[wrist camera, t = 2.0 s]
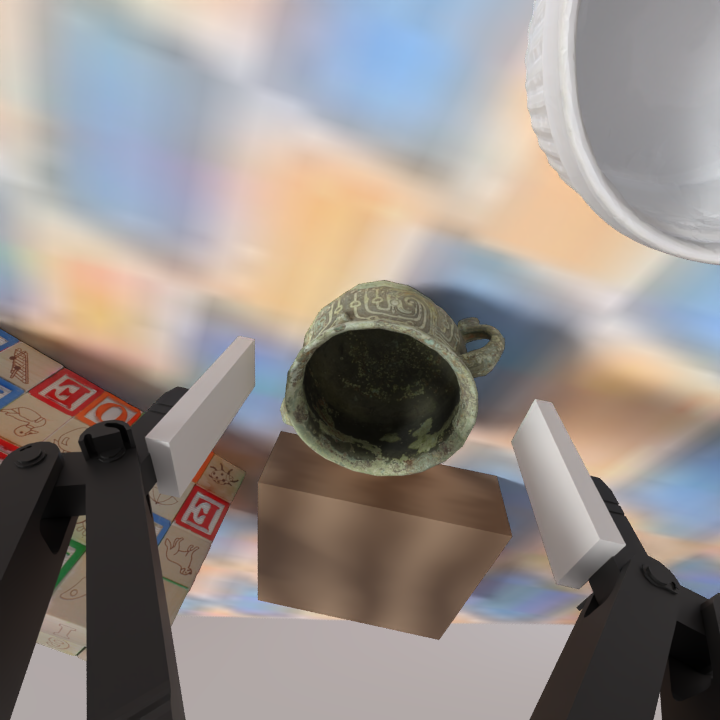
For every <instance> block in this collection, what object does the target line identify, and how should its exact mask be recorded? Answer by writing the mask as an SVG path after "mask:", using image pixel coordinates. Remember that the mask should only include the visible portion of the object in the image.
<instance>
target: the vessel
mask: <svg viewBox="0 0 720 720" xmlns="http://www.w3.org/2000/svg"><path fill="white" fill-rule="evenodd" d="M478 339H489V340H490V341H489V342H488V343H487V344H486V345H485V346H484V347H482V348H480V349H477V350H473V351H470V352H468V353H467V350H466V346H465V345H466V343H468V342H471V341H474V340H478ZM504 348H505V339H504V337H503V336H502V335H501V333H500V332H499V330H497V329H496V328H494V327H493V326H490V325H484V324H479V320H478V319H477V318H474V317H471V318H466V319H462V320H460V321H459V322H458V327H457V325H456V324H455V323H454V321H453V320H452V319H451V317H450V316H449V315H448V314H447V313H446V312H445V311H444V310H443V309H442V308H441V307H439V306H437V305H436V304H435V303H434V302H433V301H432V300H431V299H430V298H428V297H427V296H425V295H423V294H422V293H420V292H418V291H417V290H415V289H413V288H412V287H410V286H407V285H403V284H399V283H394V282H390V281H386V280H382V281H376V282H369V283H363V284H358V285H357V286H355V287H354V288H352V289H351V290H349V291H347V292H345V293H344V294H343V295H341V296H340V297H338V298H337V299H335V300H334V301H332V302H331V303H330V304H328V305H327V306H325V307H324V308H322V309H321V311H320V312H319V313H318V315H317V316H316V318H315V320H314V321H313V323H312V325H311V326H310V328H309V330H308V331H307V333H306V335H305V338H304V344H303V348H302V349H301V350H300V352H299V354H298V355H297V357H296V359H295V361H294V362H293V364H292V366H291V368H290V369H289V371H288V375H287V384H286V393H285V398H284V400H283V402H282V405H281V409H280V411H281V415H282V419H283V422H284V423H286V424H288V425H291V426H293V427H294V429H295V431H296V432H297V434H298V435H299V436H300V438H301V439H302V440H303V441H304V442H305V443H306V444H307V445H308V446H309V447H310V448H311V449H312V450H314V451H315V452H316V453H318V454H319V455H321V456H322V457H324V458H325V459H327V460H329V461H332V462H334V463H336V464H338V465H341V466H343V467H345V468H347V469H350V470H352V471H356V472H361V473H365V474H370V475H374V476H403V475H411V474H416V473H420V472H423V471H426V470H428V469H430V468H432V467H434V466H436V465H438V464H441V463H443V462H445V461H446V460H447V459H448V458H449V457H451V456H452V455H453V454H454V453H455V452H456V451H458V450H459V449H460V448H461V447H462V446H463V445H464V443H465V441H466V439H467V437H468V435H469V434H470V432H471V430H472V428H473V426H474V425H475V422H476V418H477V413H478V392H477V388H476V384H475V381H474V379H473V378H476V377H481V376H486V375H487V374H488V373H489V372H491V371H492V370H493V368H494V367H495V365H496V364H497V362H498V361H499V359H500V357H501V355H502V353H503V351H504Z"/></svg>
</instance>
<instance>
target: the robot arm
mask: <svg viewBox="0 0 720 720" xmlns="http://www.w3.org/2000/svg"><path fill="white" fill-rule="evenodd" d="M254 387H255V339H251V338H246V337H242V336H238V337H237V338H236V339H235V341H234V342H233V343H232V344H231V345H230V346H229V347H228V348H227V349H226V350H225V351H224V352H223V353H222V355H221V356H220V357H219V358H218V359H217V360H216V361H215V362H214V363H213V364H212V365H211V366H210V368H209V369H208V370H207V371H206V372H205V373H204V374H203V375H202V376H201V377H200V378H199V379H198V380H197V382H196V383H195V384H194V385H193V386H192V387H191V388H190V389H186V388H182V387H176V388H174V389H172V390H170V391H168V392H166V393H165V394H163V395H162V396H161V397H160V398H159V399H158V400H157V401H156V403H155V404H153V405H152V406H151V407H150V408H149V409H148V412H147V411H146V412H145V413H144V414H143V415H142V416H141V417H140V418H139V419H138V420H137V421H136V422H135V423H134V424H133V425H132V426H131V427H130V426H129V424H128V423H126V422H124V421H120V420H107V421H102V422H99V423H96V424H94V425H92V426H91V427H89V428H87V429H86V430H85V431H84V432H83V433H82V434H81V435H80V437H79V440H78V443H79V446H80V448H81V451H82V452H64V453H61V451H60V449H59V448H58V446H57V445H56V444H54V443H52V442H42V441H40V442H35V443H30V444H27V445H24V446H22V447H20V448H17V449H16V450H14V451H13V452H11V453H10V454H8V456H7V457H6V458H5V459H4V460H3V461H2V463H1V464H0V720H10V718H11V715H12V712H13V709H14V706H15V703H16V700H17V697H18V694H19V691H20V688H21V685H22V682H23V679H24V676H25V674H26V670H27V668H28V664H29V662H30V659H31V656H32V653H33V650H34V647H35V644H36V641H37V638H38V635H39V632H40V629H41V626H42V623H43V621H44V618H45V615H46V612H47V609H48V606H49V603H50V600H51V597H52V594H53V591H54V588H55V585H56V582H57V579H58V576H59V573H60V570H61V567H62V564H63V561H64V558H65V556H66V553H67V550H68V547H69V544H70V541H71V538H72V535H73V532H74V529H75V526H76V523H77V520H78V517H79V516H83V515H86V656H87V720H186V719H185V713H184V707H183V701H182V695H181V689H180V683H179V676H178V670H177V663H176V657H175V651H174V645H173V639H172V632H171V626H170V619H169V613H168V607H167V601H166V594H165V588H164V582H163V575H162V569H161V563H160V557H159V550H158V544H157V538H156V532H155V525H154V519H153V513H152V507H151V500H150V495H149V492H150V490H151V489H152V488H153V487H154V485H155V484H156V483H157V487H158V491H159V493H160V494H165V495H169V496H173V497H178V498H180V497H181V496H182V494H183V493H184V491H185V490H186V488H187V487H188V485H189V484H190V482H191V481H192V479H193V478H194V476H195V475H196V473H197V472H198V470H199V469H200V467H201V466H202V464H203V463H204V461H205V460H206V458H207V457H208V455H209V454H210V453H211V451H212V450H213V448H214V447H215V445H216V444H217V442H218V441H219V439H220V438H221V436H222V435H223V433H224V432H225V430H226V429H227V427H228V426H229V424H230V423H231V421H232V420H233V418H234V417H235V415H236V414H237V412H238V411H239V409H240V408H241V406H242V405H243V403H244V402H245V400H246V399H247V397H248V396H249V394H250V393H251V391H252V390H253V388H254ZM511 442H512V446H513V449H514V452H515V455H516V458H517V461H518V465H519V468H520V471H521V474H522V477H523V480H524V484H525V487H526V490H527V493H528V496H529V499H530V503H531V506H532V509H533V512H534V515H535V518H536V522H537V525H538V528H539V531H540V534H541V537H542V541H543V544H544V547H545V550H546V553H547V556H548V560H549V563H550V566H551V569H552V572H553V575H554V579H555V582H556V584H558V585H562V586H567V587H571V588H576V589H580V588H581V587H582V586H583V585H584V584H585V583H586V582H587V581H588V580H589V583H590V585H591V588H592V590H593V593H592V594H591V595H590V596H589V597H588V598H586V599H585V600H584V601H583V602H582V603H581V604H580V605H579V606H578V607H577V609H578V610H579V611H580V610H581V609H582V608H583V609H582V611H581V613H580V615H579V617H578V619H577V622H576V624H575V626H574V628H573V630H572V632H571V634H570V636H569V638H568V640H567V642H566V645H565V647H564V649H563V651H562V653H561V655H560V657H559V659H558V661H557V663H556V666H555V668H554V670H553V672H552V674H551V676H550V678H549V680H548V682H547V684H546V686H545V689H544V691H543V693H542V695H541V697H540V699H539V702H538V703H537V705H536V707H535V709H534V712H533V714H532V716H531V718H530V720H653V719H654V715H655V710H656V706H657V702H658V698H659V694H660V697H661V712H662V720H720V593H718V594H716V595H715V596H713V597H712V598H710V599H707V598H705V597H703V596H701V595H699V594H697V593H695V592H693V591H691V590H689V589H687V588H685V587H683V586H681V585H680V584H679V582H678V580H677V579H676V578H675V576H674V575H673V574H672V573H671V572H670V570H668V569H667V568H666V567H665V566H664V565H663V564H661V563H660V562H659V561H657V560H655V559H653V558H652V557H649V556H648V555H647V553H646V552H645V550H644V548H643V546H642V544H641V543H640V541H639V539H638V537H637V535H636V534H635V532H634V530H633V528H632V527H631V525H630V523H629V521H628V519H627V518H626V517H625V516H624V512H623V510H622V509H621V507H620V506H618V504H619V503H618V501H617V500H616V498H615V496H614V494H613V493H612V491H611V490H610V489H609V487H608V486H607V485H606V484H605V483H604V482H603V481H602V480H601V479H600V478H597V477H593V476H590V475H589V473H588V471H587V469H586V467H585V465H584V463H583V461H582V459H581V457H580V455H579V453H578V452H577V450H576V448H575V446H574V444H573V442H572V440H571V438H570V436H569V434H568V432H567V430H566V428H565V427H564V425H563V423H562V421H561V419H560V417H559V415H558V413H557V411H556V409H555V407H554V405H553V404H552V402H547V401H543V400H538V399H535V400H534V402H533V404H532V405H531V407H530V409H529V411H528V412H527V414H526V416H525V418H524V420H523V421H522V423H521V425H520V427H519V428H518V430H517V432H516V434H515V436H514V437H513V439H512V441H511Z"/></svg>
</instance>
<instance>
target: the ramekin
mask: <svg viewBox="0 0 720 720" xmlns="http://www.w3.org/2000/svg"><path fill="white" fill-rule="evenodd" d="M525 66H526V83H525V87H526V91H527V107H528V110H529V113H530V116H531V124H532V128H533V130H534V132H535V133H536V135H537V138H538V142H539V146H540V148H541V149H542V151H544V152H545V154H546V156H547V159H548V162H549V164H550V166H551V167H552V168H553V169H555V170H556V171H557V173H558V174H559V176H560V178H561V179H562V180H563V181H564V182H565V183H566V184H567V185H568V186H570V187H571V188H572V189H574V190H575V191H576V192H577V193H578V194H579V195H580V196H581V197H582V198H583V199H584V200H585V202H586V203H587V204H588V205H589V206H590V208H591V209H592V210H593V211H594V212H595V213H596V214H597V215H598V216H599V217H600V218H602V219H603V220H604V221H605V222H606V223H607V224H609V225H610V226H611V227H613V228H614V229H615V230H617V231H619V232H620V233H622V234H623V235H625V236H627V237H629V238H630V239H632V240H634V241H636V242H638V243H640V244H643V245H645V246H647V247H650V248H653V249H655V250H658V251H661V252H664V253H667V254H670V255H673V256H676V257H680V258H683V259H687V260H692V261H697V262H701V263H708V264H715V265H720V0H534V6H533V17H532V19H531V21H530V24H529V28H528V49H527V52H526V55H525Z"/></svg>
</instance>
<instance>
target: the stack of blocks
mask: <svg viewBox="0 0 720 720" xmlns="http://www.w3.org/2000/svg"><path fill="white" fill-rule="evenodd" d="M143 414H144V412H142V411H140V410H139V409H137V408H135V407H133V406H131V405H129V404H128V403H126V402H125V401H123V400H121V399H119V398H118V397H116V396H114V395H113V394H111V393H109V392H107V391H104V390H103V389H101V388H100V387H98V386H96V385H95V384H93V383H91V382H89V381H88V380H86V379H84V378H83V377H81V376H79V375H77V374H76V373H74V372H72V371H70V370H69V369H66V368H64V366H63V365H61V364H59V363H57V362H56V361H54V360H52V359H51V358H49V357H47V356H45V355H44V354H42V353H40V352H39V351H37V350H35V349H33V348H32V347H30V346H28V345H27V344H25V343H23V342H21V341H19V340H18V339H17V338H15V337H13V336H12V335H10V334H8V333H6V332H5V331H3V330H1V329H0V464H1V463H2V461H3V460H4V459H5V458H6V457H7V456H8V454H10V453H11V452H13V451H14V450H16V449H17V448H20V447H22V446H24V445H27V444H30V443H35V442H40V441H42V442H52V443H54V444H56V445H57V446H58V448H59V449H60V451H61V453H64V452H82V451H81V448H80V446H79V443H78V440H79V437H80V435H81V434H82V433H83V432H84V431H85V430H86V429H87V428H89V427H91V426H92V425H94V424H96V423H99V422H102V421H107V420H120V421H124V422H126V423H128V424H129V426H130V427H131V426H132V425H133V424H134V423H135V422H136V421H137V420H138V419H139V418H140V417H141V416H142V415H143ZM245 474H246V472H244V471H243V470H241V469H239V468H238V467H236V466H234V465H233V464H231V463H229V462H228V461H226V460H224V459H223V458H221V457H219V456H217V455H216V454H214V453H213V452H212V451H211V453H210V454H209V455H208V457H207V458H206V460H205V461H204V463H203V464H202V466H201V467H200V469H199V470H198V472H197V473H196V475H195V476H194V478H193V479H192V481H191V482H190V484H189V485H188V487H187V488H186V490H185V491H184V493H183V494H182V496H181V497H180V498H178V497H173V496H169V495H165V494H160V493H159V491H158V487H157V483H156V484H155V485H154V487H153V488H152V489H151V490H150V492H149V495H150V500H151V507H152V513H153V519H154V525H155V532H156V538H157V544H158V550H159V557H160V563H161V569H162V575H163V582H164V588H165V594H166V601H167V607H168V613H169V619H170V626H172V624H173V621H174V619H175V617H176V615H177V613H178V611H179V609H180V607H181V605H182V603H183V601H184V599H185V597H186V595H187V593H188V592H189V591H190V589H191V587H192V585H193V583H194V581H195V578H196V575H197V574H198V572H199V570H200V568H201V566H202V563H203V562H204V560H205V558H206V556H207V554H208V551H209V549H210V547H211V543H212V542H213V540H214V538H215V536H216V534H217V532H218V530H219V527H220V525H221V523H222V521H223V519H224V517H225V515H226V513H227V510H228V508H229V506H230V504H231V502H232V501H233V499H234V497H235V494H236V492H237V490H238V489H239V487H240V485H241V482H242V480H243V478H244V476H245ZM36 643H38V644H41V645H44V646H46V647H49V648H52V649H55V650H58V651H60V652H63V653H66V654H69V655H73V656H76V655H77V657H78V658H80V659H82V660H85V661H87V656H86V515H83V516H79V517H78V520H77V523H76V526H75V529H74V532H73V535H72V538H71V541H70V544H69V547H68V550H67V553H66V556H65V558H64V561H63V564H62V567H61V570H60V573H59V576H58V579H57V582H56V585H55V588H54V591H53V594H52V597H51V600H50V603H49V606H48V609H47V612H46V615H45V618H44V621H43V623H42V626H41V629H40V632H39V635H38V638H37V641H36Z"/></svg>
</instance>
